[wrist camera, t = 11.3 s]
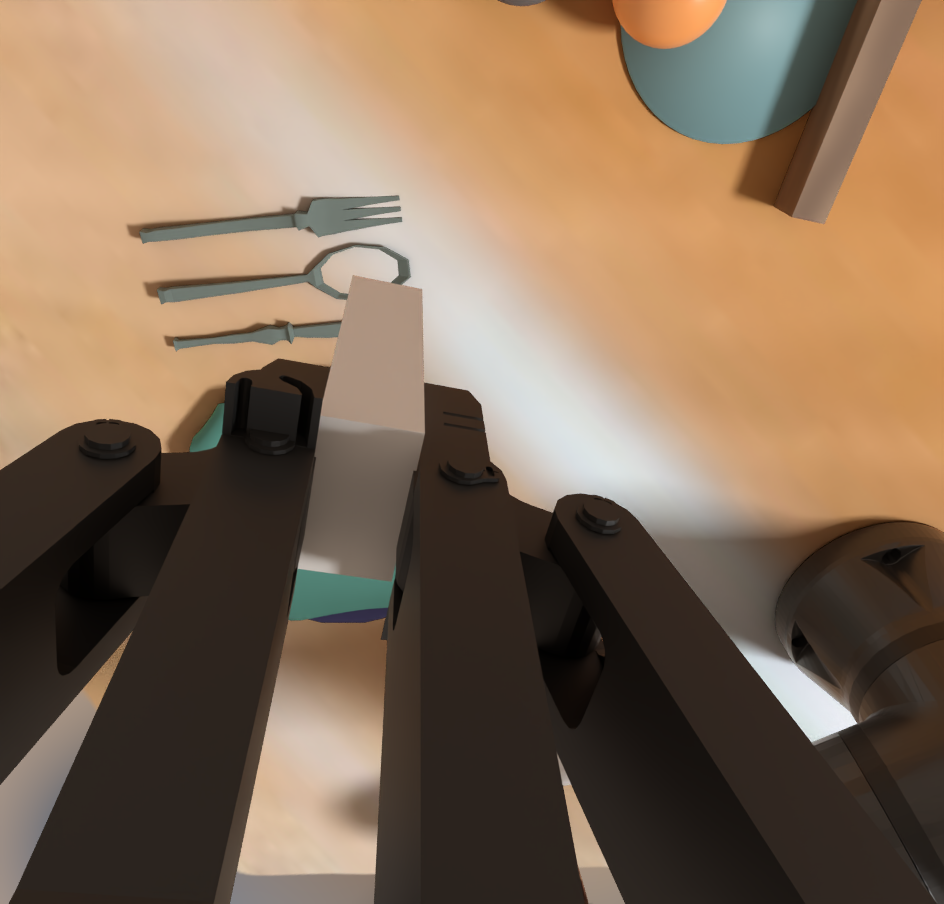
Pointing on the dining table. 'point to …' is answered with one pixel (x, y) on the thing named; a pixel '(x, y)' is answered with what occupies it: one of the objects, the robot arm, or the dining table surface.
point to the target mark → (742, 69)
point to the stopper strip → (844, 107)
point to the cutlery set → (313, 590)
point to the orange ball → (667, 20)
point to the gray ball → (521, 2)
